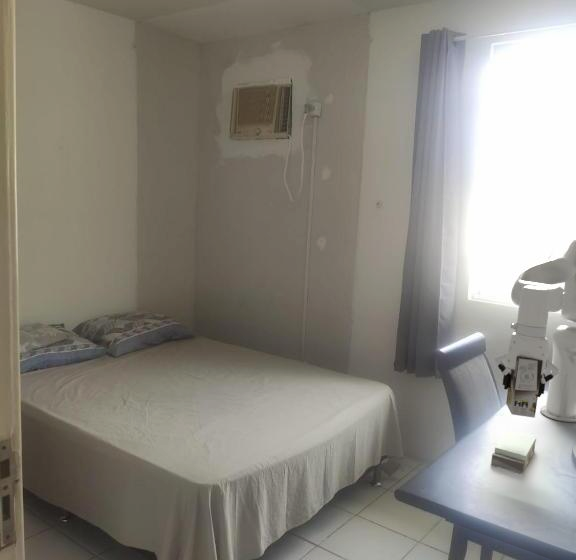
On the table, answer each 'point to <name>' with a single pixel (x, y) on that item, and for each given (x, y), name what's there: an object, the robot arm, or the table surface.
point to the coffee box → (524, 387)
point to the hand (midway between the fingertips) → (522, 391)
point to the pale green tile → (515, 445)
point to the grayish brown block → (510, 462)
